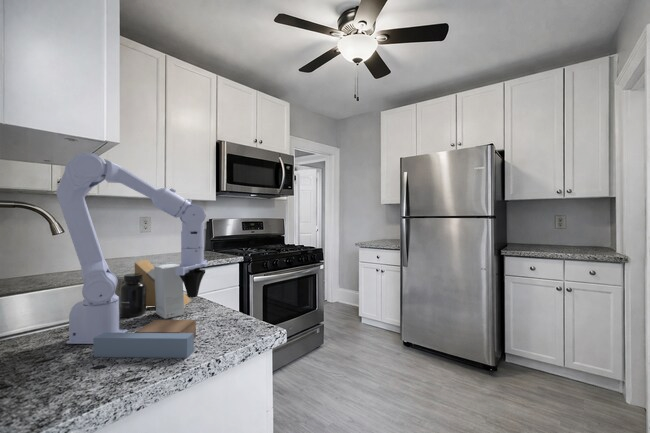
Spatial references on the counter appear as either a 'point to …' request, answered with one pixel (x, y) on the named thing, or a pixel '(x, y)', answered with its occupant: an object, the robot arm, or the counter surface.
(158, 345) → the slate block
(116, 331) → the robot arm
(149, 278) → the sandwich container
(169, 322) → the walnut block
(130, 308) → the supplement bottle
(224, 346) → the counter surface
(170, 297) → the skincare box
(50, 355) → the counter surface
